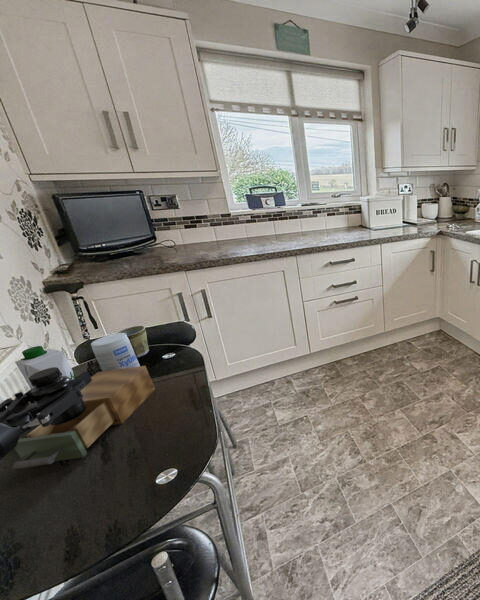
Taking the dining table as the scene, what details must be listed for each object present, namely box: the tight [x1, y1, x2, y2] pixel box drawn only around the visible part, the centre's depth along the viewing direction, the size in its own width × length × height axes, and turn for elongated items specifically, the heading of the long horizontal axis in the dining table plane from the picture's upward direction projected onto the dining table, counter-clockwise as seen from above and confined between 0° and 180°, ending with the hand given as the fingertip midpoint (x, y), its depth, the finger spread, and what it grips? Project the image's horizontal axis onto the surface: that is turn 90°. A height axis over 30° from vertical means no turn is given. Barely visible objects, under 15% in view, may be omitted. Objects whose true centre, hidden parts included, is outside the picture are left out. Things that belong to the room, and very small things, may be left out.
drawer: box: [13, 401, 116, 470], centre depth 81 cm, size 19×13×7 cm, turn 7°
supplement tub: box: [90, 332, 141, 372], centre depth 110 cm, size 10×10×15 cm
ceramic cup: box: [114, 325, 150, 359], centre depth 127 cm, size 13×10×10 cm
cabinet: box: [81, 365, 156, 427], centre depth 94 cm, size 16×14×9 cm
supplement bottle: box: [29, 367, 87, 425], centre depth 75 cm, size 7×7×12 cm
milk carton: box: [14, 345, 77, 390], centre depth 95 cm, size 9×9×20 cm
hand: (70, 378), depth 79 cm, fingers closed on supplement bottle, 7 cm apart
